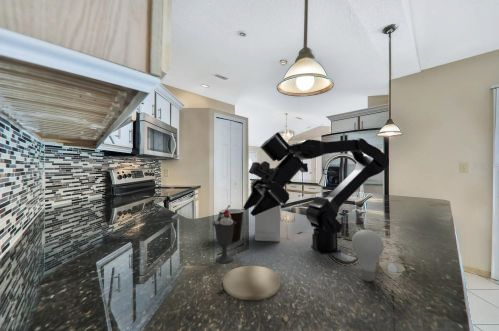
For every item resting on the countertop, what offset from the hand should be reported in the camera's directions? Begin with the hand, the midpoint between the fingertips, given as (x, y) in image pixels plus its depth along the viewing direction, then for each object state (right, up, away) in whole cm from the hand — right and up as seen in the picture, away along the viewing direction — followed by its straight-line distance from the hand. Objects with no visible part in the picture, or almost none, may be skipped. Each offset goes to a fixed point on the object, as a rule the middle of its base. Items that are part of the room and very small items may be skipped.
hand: (247, 211), depth 61 cm
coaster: (+1, -12, -15) cm, 19 cm away
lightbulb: (+26, -13, -14) cm, 32 cm away
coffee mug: (-6, -14, +18) cm, 23 cm away
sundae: (-6, -13, -2) cm, 14 cm away
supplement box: (+7, -14, +18) cm, 24 cm away
